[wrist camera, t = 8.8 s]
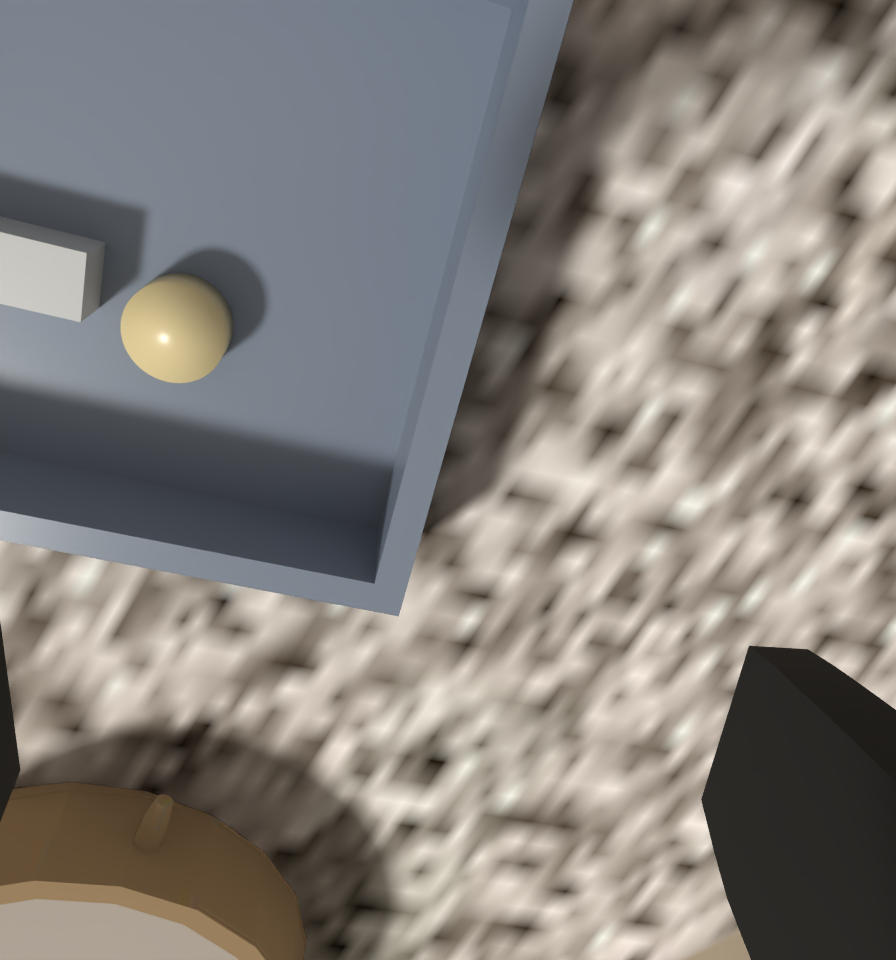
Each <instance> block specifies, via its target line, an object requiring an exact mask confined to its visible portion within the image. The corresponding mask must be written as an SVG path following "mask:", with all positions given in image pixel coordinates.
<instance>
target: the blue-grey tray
mask: <svg viewBox="0 0 896 960" xmlns="http://www.w3.org/2000/svg"><path fill="white" fill-rule="evenodd" d="M573 1H574V0H0V540H2V541H7V542H13V543H18V544H23V545H28V546H34V547H39V548H44V549H49V550H54V551H60V552H65V553H70V554H75V555H81V556H86V557H91V558H96V559H102V560H107V561H112V562H117V563H123V564H128V565H133V566H138V567H144V568H149V569H154V570H159V571H165V572H170V573H175V574H180V575H185V576H191V577H196V578H201V579H206V580H212V581H217V582H222V583H227V584H233V585H238V586H243V587H248V588H254V589H259V590H264V591H269V592H275V593H280V594H285V595H290V596H295V597H301V598H306V599H311V600H316V601H322V602H327V603H332V604H337V605H343V606H348V607H353V608H358V609H364V610H369V611H374V612H379V613H385V614H390V615H395V616H399V613H400V609H401V606H402V602H403V599H404V595H405V592H406V588H407V585H408V581H409V578H410V574H411V571H412V567H413V564H414V560H415V557H416V553H417V550H418V546H419V543H420V539H421V535H422V532H423V528H424V525H425V521H426V518H427V514H428V511H429V507H430V504H431V500H432V497H433V493H434V490H435V486H436V483H437V479H438V476H439V472H440V469H441V465H442V462H443V458H444V455H445V451H446V448H447V444H448V441H449V437H450V433H451V430H452V426H453V423H454V419H455V416H456V412H457V409H458V405H459V402H460V398H461V395H462V391H463V388H464V384H465V381H466V377H467V374H468V370H469V367H470V363H471V360H472V356H473V353H474V349H475V346H476V342H477V339H478V335H479V331H480V328H481V324H482V321H483V317H484V314H485V310H486V307H487V303H488V300H489V296H490V293H491V289H492V286H493V282H494V279H495V275H496V272H497V268H498V265H499V261H500V258H501V254H502V251H503V247H504V244H505V240H506V237H507V233H508V229H509V226H510V222H511V219H512V215H513V212H514V208H515V205H516V201H517V198H518V194H519V191H520V187H521V184H522V180H523V177H524V173H525V170H526V166H527V163H528V159H529V156H530V152H531V149H532V145H533V142H534V138H535V135H536V131H537V127H538V124H539V120H540V117H541V113H542V110H543V106H544V103H545V99H546V96H547V92H548V89H549V85H550V82H551V78H552V75H553V71H554V68H555V64H556V61H557V57H558V54H559V50H560V47H561V43H562V40H563V36H564V33H565V29H566V25H567V22H568V18H569V15H570V11H571V8H572V4H573Z"/></svg>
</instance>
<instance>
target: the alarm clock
mask: <svg viewBox="0 0 896 960" xmlns="http://www.w3.org/2000/svg"><path fill="white" fill-rule="evenodd" d="M305 947H306V935H305V931H304V926H303V922H302V918H301V913H300V909H299V905H298V900H297V896H296V894H295V892H294V891H293V890H292V888H291V887H290V886H289V884H288V883H287V882H286V880H285V879H284V878H283V876H282V875H281V874H280V872H279V871H278V869H277V868H276V867H275V865H274V864H273V863H272V861H271V860H270V859H269V857H268V856H267V855H266V853H265V852H264V851H262V850H261V849H260V848H258V847H257V846H255V845H254V844H252V843H251V842H250V841H248V840H247V839H245V838H244V837H243V836H241V835H240V834H238V833H237V832H235V831H234V830H233V829H231V828H230V827H228V826H227V825H226V824H224V823H223V822H221V821H220V820H218V819H217V818H216V817H214V816H212V815H209V814H207V813H204V812H201V811H199V810H196V809H193V808H191V807H188V806H185V805H183V804H180V803H177V802H174V801H173V799H172V798H171V797H170V796H168V795H165V794H162V795H159V796H158V795H156V794H153V793H150V792H148V791H140V790H133V789H125V788H117V787H109V786H102V785H94V784H86V783H78V782H67V783H58V784H48V785H38V786H30V787H23V788H17V789H13V790H12V793H11V795H10V798H9V801H8V803H7V806H6V809H5V811H4V814H3V816H2V819H1V822H0V960H303V959H304V951H305Z"/></svg>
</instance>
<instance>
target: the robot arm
mask: <svg viewBox="0 0 896 960" xmlns="http://www.w3.org/2000/svg"><path fill="white" fill-rule="evenodd" d="M19 772H20V764H19V757H18V749H17V742H16V735H15V727H14V720H13V712H12V705H11V698H10V690H9V683H8V676H7V668H6V661H5V653H4V646H3V639H2V631H1V624H0V822H1V819H2V816H3V814H4V811H5V809H6V806H7V803H8V801H9V798H10V795H11V793H12V790H13V788H14V785H15V782H16V780H17V777H18V775H19ZM701 800H702V804H703V808H704V812H705V816H706V820H707V824H708V828H709V832H710V836H711V840H712V845H713V849H714V853H715V856H716V860H717V863H718V867H719V871H720V874H721V878H722V881H723V885H724V888H725V892H726V896H727V899H728V902H729V904H730V907H731V909H732V912H733V915H734V917H735V920H736V923H737V925H738V928H739V930H740V933H741V935H742V938H743V940H744V943H745V945H746V948H747V950H748V953H749V955H750V958H751V960H896V710H895V709H894V708H892V707H891V706H890V705H888V704H887V703H885V702H884V701H883V700H881V699H880V698H879V697H877V696H876V695H874V694H873V693H872V692H870V691H869V690H868V689H866V688H865V687H863V686H862V685H861V684H859V683H858V682H856V681H855V680H854V679H852V678H851V677H849V676H848V675H846V674H845V673H844V672H842V671H841V670H839V669H838V668H836V667H835V666H833V665H832V664H830V663H829V662H827V661H826V660H824V659H822V658H821V657H819V656H818V655H816V654H814V653H813V652H811V651H809V650H808V649H792V648H776V647H759V646H749V648H748V651H747V654H746V657H745V661H744V664H743V667H742V670H741V674H740V677H739V680H738V683H737V686H736V690H735V693H734V696H733V699H732V703H731V706H730V709H729V712H728V715H727V719H726V722H725V725H724V728H723V732H722V735H721V738H720V741H719V744H718V748H717V751H716V754H715V757H714V761H713V764H712V767H711V770H710V773H709V777H708V780H707V783H706V786H705V789H704V793H703V796H702V799H701Z"/></svg>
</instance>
